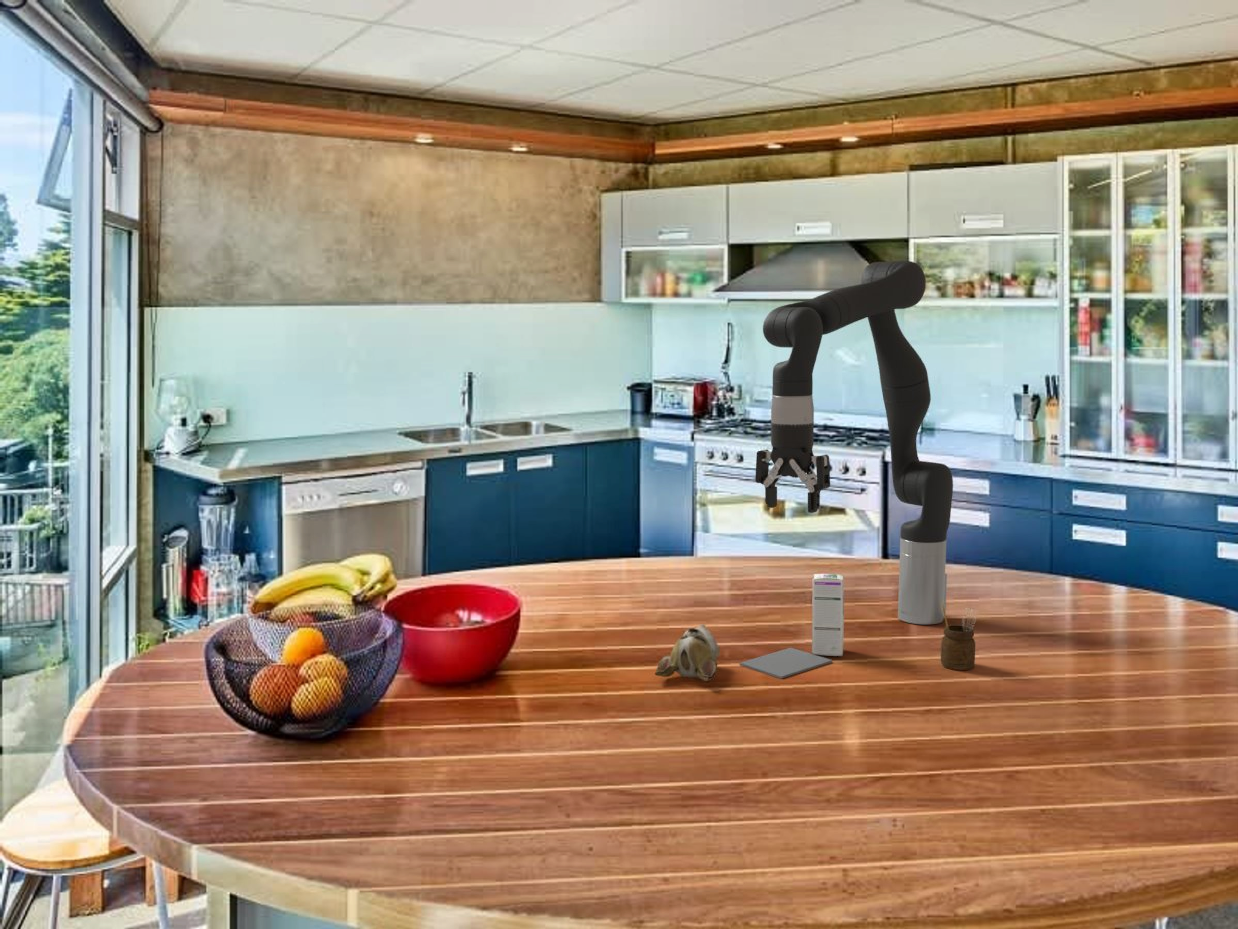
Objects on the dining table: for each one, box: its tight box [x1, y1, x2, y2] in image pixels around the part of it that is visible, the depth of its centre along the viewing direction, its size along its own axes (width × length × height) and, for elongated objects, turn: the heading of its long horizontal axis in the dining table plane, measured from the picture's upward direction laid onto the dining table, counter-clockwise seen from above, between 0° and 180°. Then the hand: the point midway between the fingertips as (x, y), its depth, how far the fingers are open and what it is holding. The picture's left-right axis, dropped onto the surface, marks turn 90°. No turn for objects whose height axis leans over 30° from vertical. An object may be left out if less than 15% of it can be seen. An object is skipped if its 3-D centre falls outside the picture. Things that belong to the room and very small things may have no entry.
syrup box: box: [811, 573, 845, 657], centre depth 202 cm, size 6×6×14 cm
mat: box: [739, 647, 833, 679], centre depth 196 cm, size 14×10×1 cm
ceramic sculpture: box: [654, 623, 720, 682], centre depth 190 cm, size 11×9×15 cm
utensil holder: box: [940, 600, 978, 671], centre depth 194 cm, size 6×6×12 cm
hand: (791, 509), depth 194 cm, fingers open, 8 cm apart
